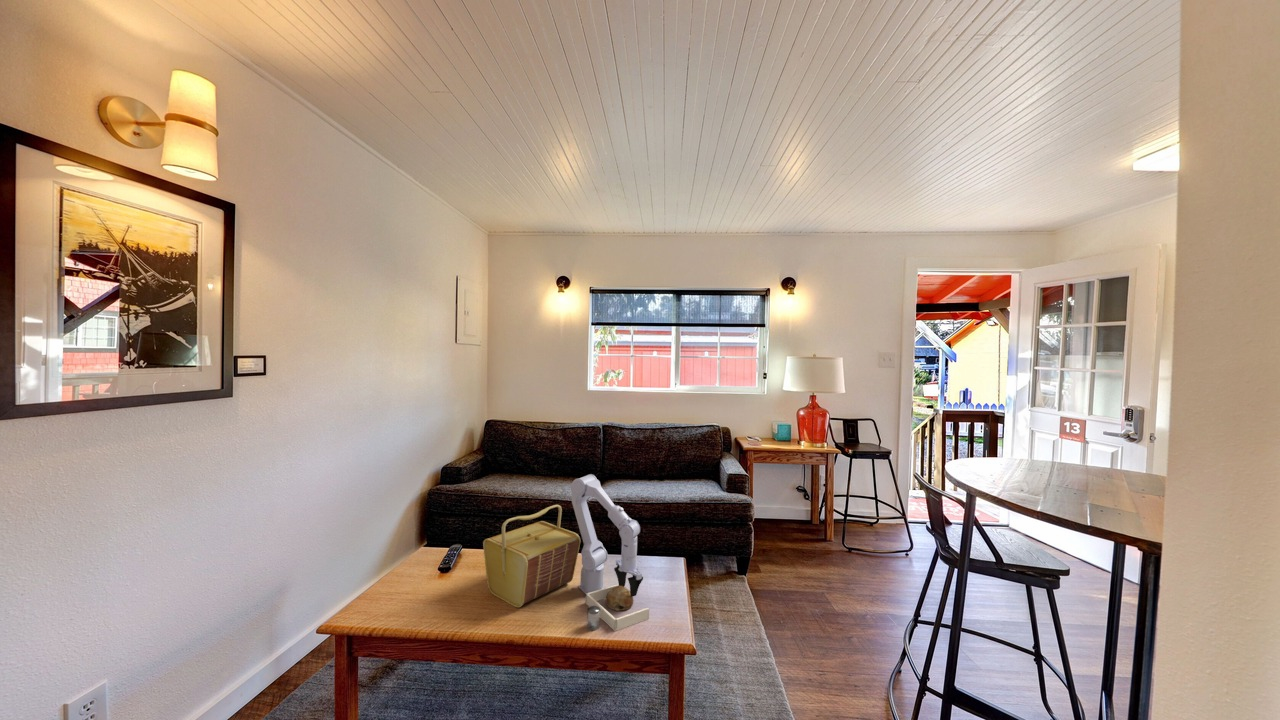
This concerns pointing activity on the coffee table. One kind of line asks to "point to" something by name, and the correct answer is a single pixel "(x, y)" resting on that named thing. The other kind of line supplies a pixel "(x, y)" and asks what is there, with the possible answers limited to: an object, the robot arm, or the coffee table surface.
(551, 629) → the coffee table surface
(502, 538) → the picnic basket
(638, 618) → the cream low open frame
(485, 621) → the coffee table surface
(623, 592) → the bread roll
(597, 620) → the grey tin
